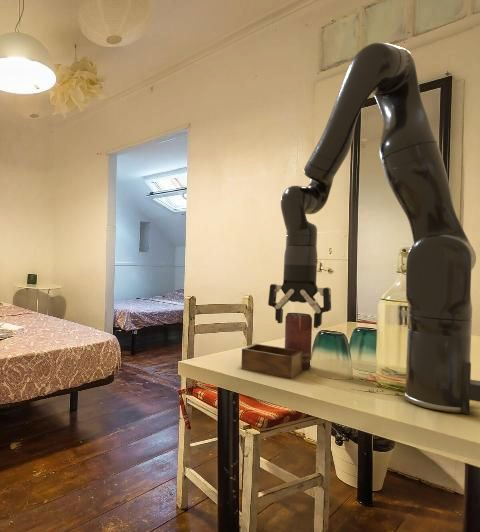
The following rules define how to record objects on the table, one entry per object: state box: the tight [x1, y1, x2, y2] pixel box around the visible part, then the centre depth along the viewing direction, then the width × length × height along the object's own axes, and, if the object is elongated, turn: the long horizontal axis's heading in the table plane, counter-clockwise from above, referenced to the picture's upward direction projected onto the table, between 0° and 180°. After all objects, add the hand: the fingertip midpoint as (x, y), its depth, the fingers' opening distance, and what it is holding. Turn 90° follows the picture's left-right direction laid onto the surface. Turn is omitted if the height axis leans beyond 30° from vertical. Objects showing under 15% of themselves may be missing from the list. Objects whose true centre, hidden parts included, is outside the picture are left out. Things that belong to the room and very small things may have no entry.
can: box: [284, 312, 313, 371], centre depth 103 cm, size 6×6×14 cm
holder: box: [240, 343, 303, 380], centre depth 100 cm, size 12×10×5 cm
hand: (297, 325), depth 103 cm, fingers open, 8 cm apart
